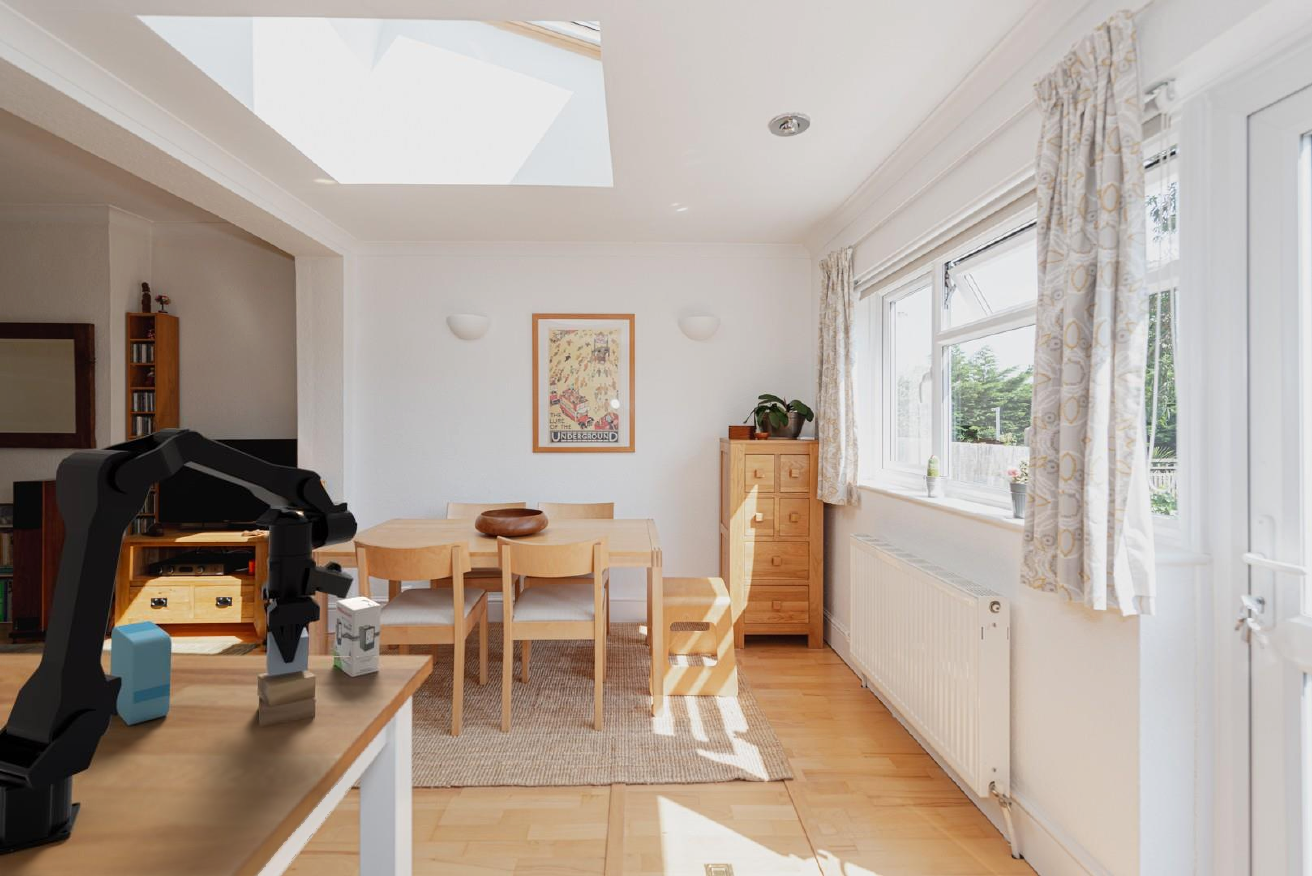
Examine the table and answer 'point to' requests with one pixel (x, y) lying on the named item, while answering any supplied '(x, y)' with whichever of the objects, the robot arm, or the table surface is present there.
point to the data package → (141, 670)
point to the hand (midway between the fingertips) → (287, 656)
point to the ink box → (357, 636)
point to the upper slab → (286, 687)
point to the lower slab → (286, 711)
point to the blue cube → (276, 661)
